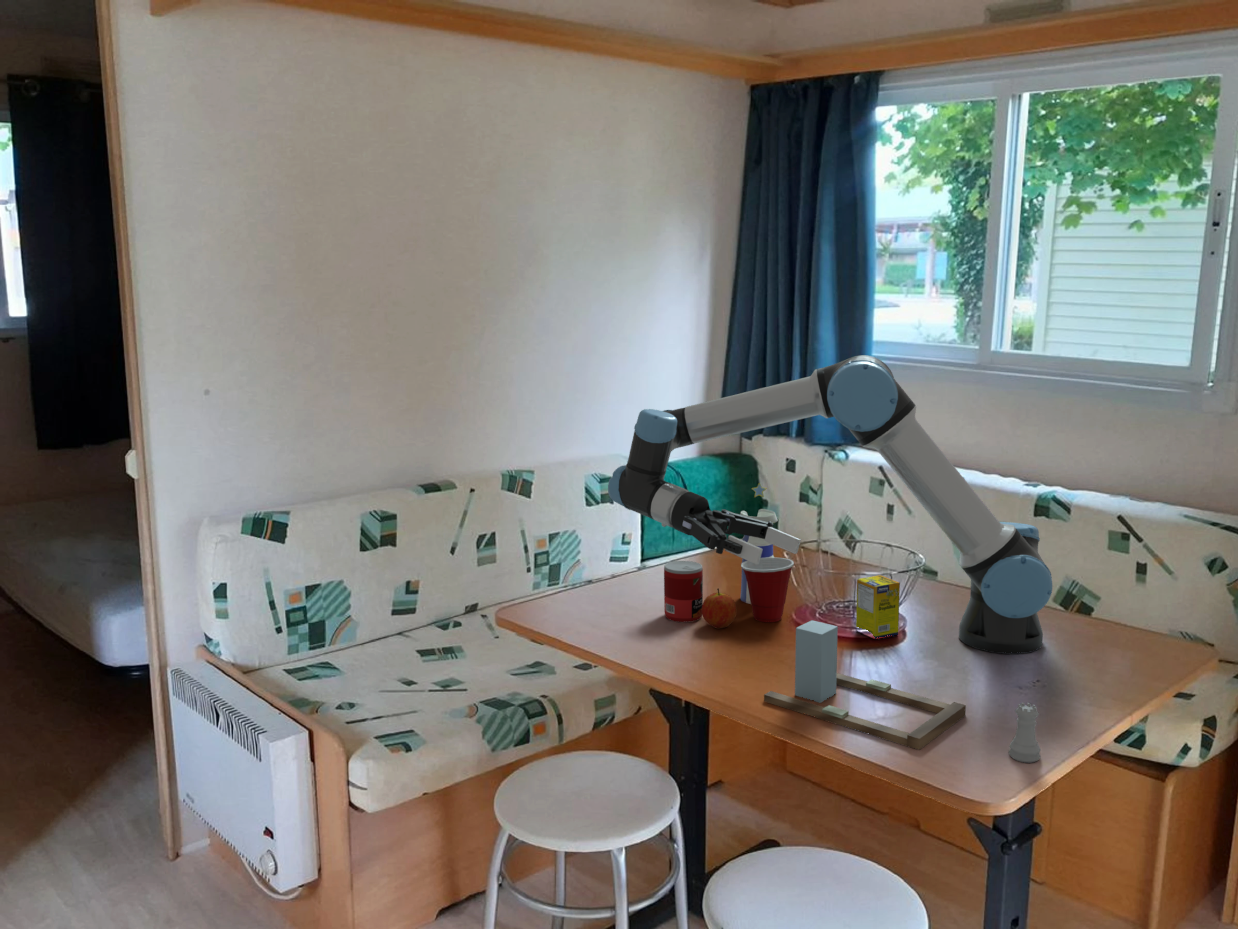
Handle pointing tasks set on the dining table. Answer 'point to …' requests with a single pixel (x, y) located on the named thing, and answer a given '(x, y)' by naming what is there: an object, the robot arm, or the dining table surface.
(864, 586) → the supplement box
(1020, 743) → the rook chess piece
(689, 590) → the canned food
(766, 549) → the water bottle
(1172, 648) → the dining table surface
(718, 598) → the fruit
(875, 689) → the brown u-shaped frame
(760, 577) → the plastic cup
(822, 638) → the blue-grey tall rectangular block
